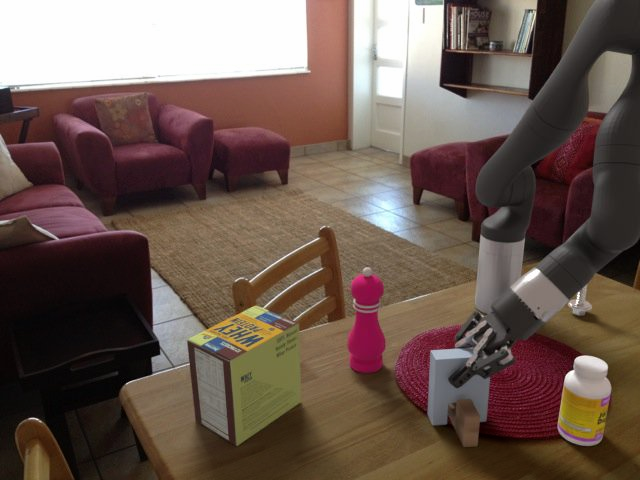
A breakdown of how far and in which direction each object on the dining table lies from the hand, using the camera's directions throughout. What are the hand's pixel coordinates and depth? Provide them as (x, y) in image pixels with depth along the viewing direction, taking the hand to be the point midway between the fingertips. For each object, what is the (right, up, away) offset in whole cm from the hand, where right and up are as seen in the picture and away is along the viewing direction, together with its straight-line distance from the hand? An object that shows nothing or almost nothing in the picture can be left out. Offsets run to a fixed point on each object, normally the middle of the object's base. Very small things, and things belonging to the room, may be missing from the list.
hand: (448, 375), depth 97 cm
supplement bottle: (+21, -9, -1) cm, 23 cm away
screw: (+37, +5, +37) cm, 52 cm away
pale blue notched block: (+2, -8, +3) cm, 9 cm away
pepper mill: (-12, -2, +19) cm, 22 cm away
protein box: (-32, -7, +6) cm, 34 cm away
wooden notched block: (+2, -7, +4) cm, 9 cm away
